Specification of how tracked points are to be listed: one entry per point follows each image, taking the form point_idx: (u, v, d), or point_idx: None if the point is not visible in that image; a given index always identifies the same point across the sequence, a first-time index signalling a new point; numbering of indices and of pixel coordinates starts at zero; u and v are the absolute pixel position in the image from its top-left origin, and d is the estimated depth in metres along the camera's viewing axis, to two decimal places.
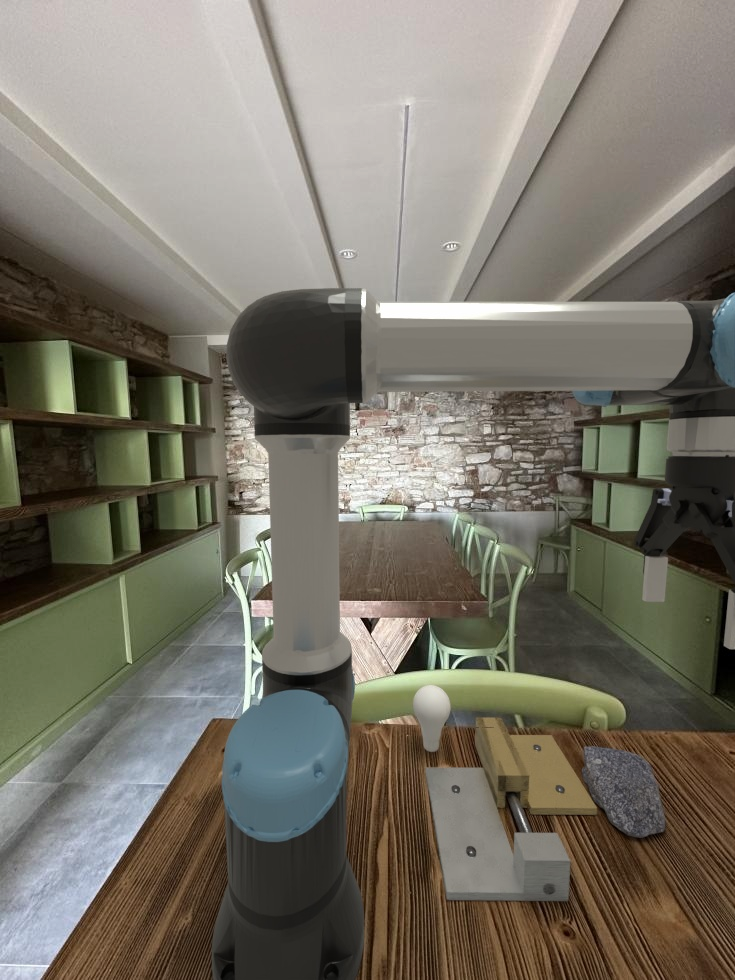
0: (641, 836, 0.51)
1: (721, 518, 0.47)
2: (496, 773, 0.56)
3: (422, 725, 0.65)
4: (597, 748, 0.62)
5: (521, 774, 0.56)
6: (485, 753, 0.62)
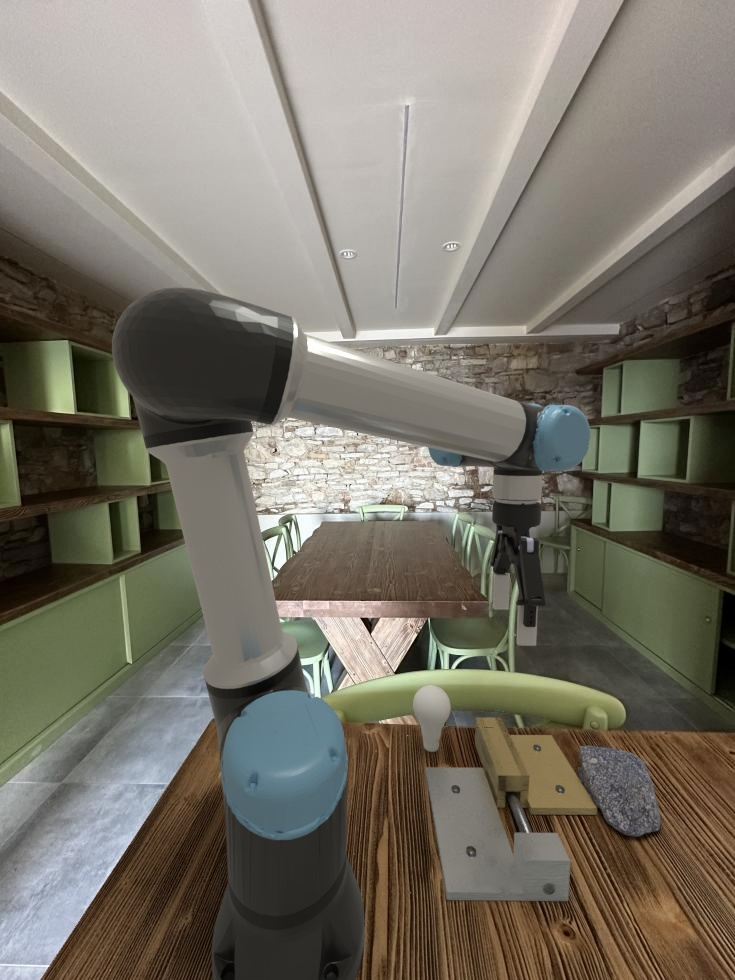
0: (637, 835, 0.51)
1: None
2: (496, 773, 0.56)
3: (422, 725, 0.65)
4: (593, 747, 0.62)
5: (521, 774, 0.56)
6: (485, 753, 0.62)
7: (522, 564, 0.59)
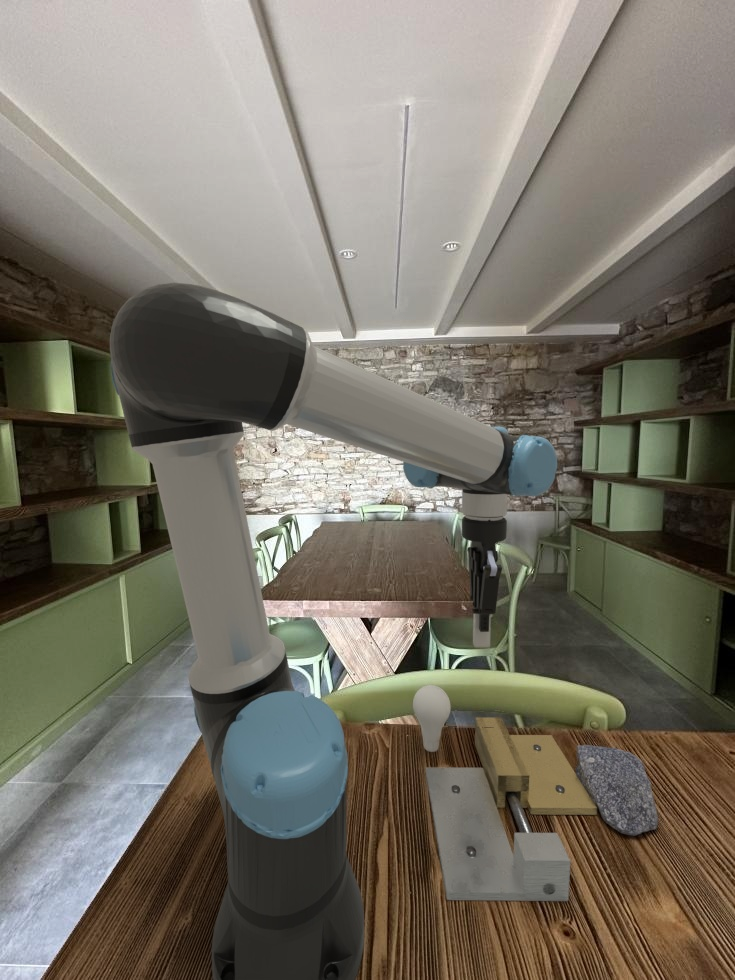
0: (634, 834, 0.51)
1: None
2: (496, 773, 0.56)
3: (422, 725, 0.65)
4: (590, 747, 0.62)
5: (521, 774, 0.56)
6: (485, 753, 0.62)
7: (483, 584, 0.67)
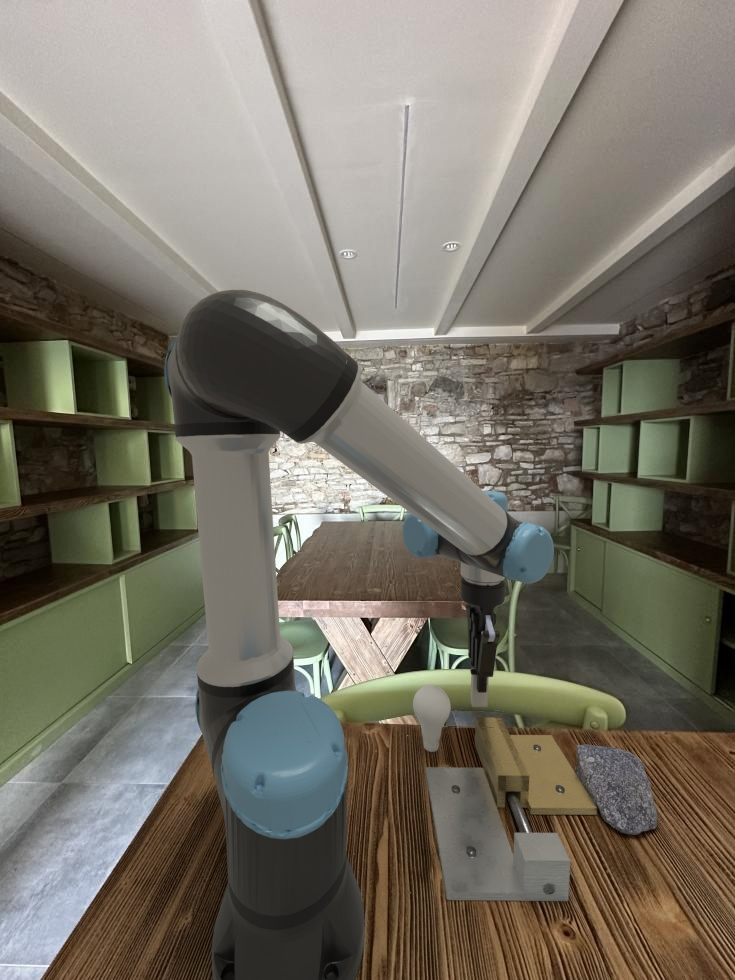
0: (634, 833, 0.52)
1: None
2: (496, 773, 0.56)
3: (422, 725, 0.65)
4: (590, 746, 0.62)
5: (521, 774, 0.56)
6: (485, 753, 0.62)
7: (481, 648, 0.67)
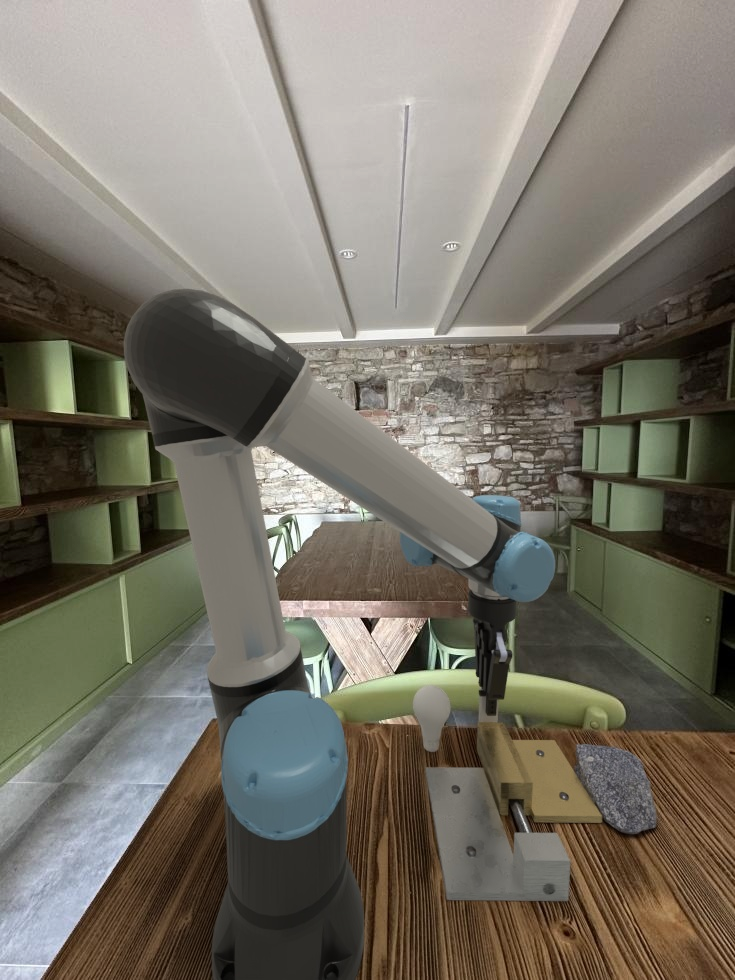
0: (634, 832, 0.52)
1: None
2: (499, 780, 0.55)
3: (422, 725, 0.65)
4: (589, 746, 0.62)
5: (524, 781, 0.55)
6: (487, 759, 0.61)
7: (491, 669, 0.61)
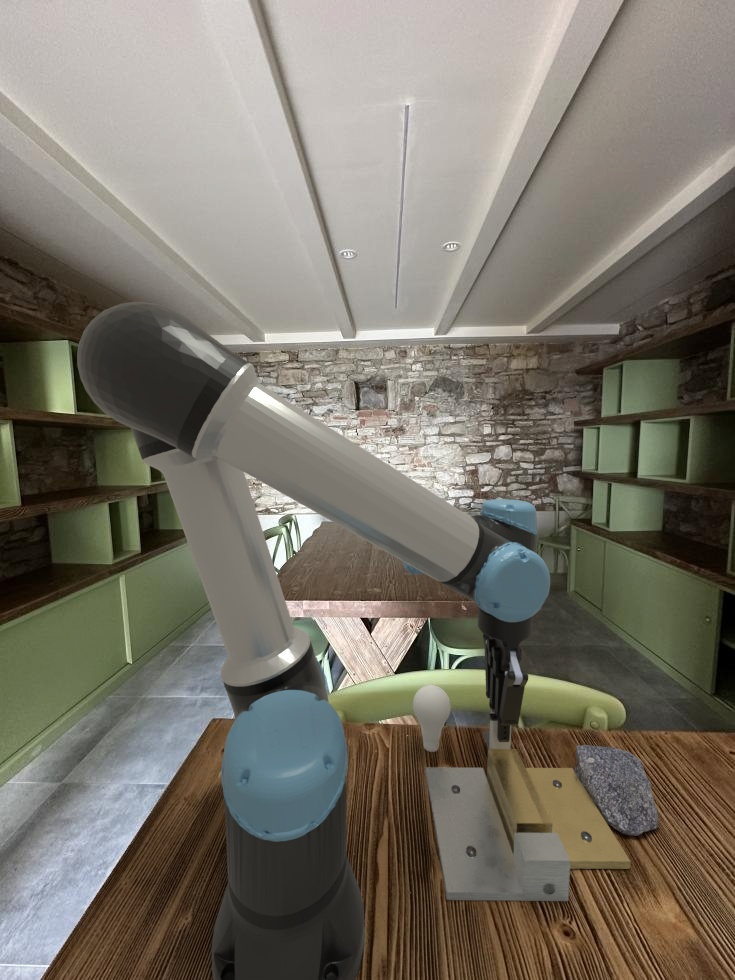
0: (636, 834, 0.51)
1: None
2: (514, 820, 0.49)
3: (422, 725, 0.65)
4: (589, 747, 0.62)
5: (543, 822, 0.49)
6: (500, 793, 0.55)
7: (504, 692, 0.55)
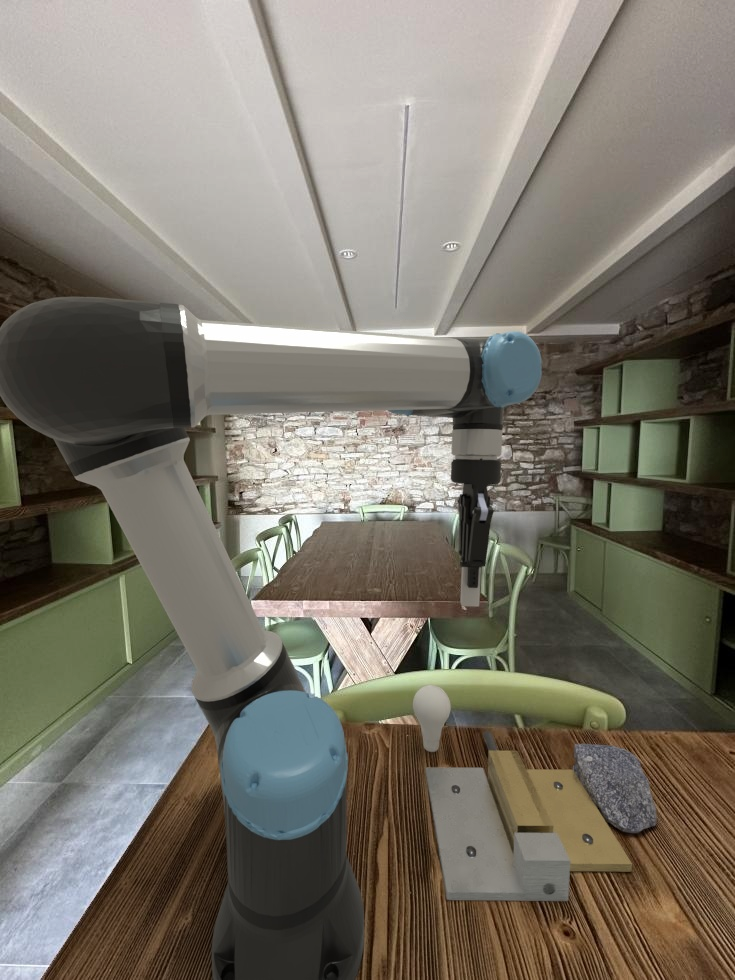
0: (636, 831, 0.52)
1: None
2: (515, 822, 0.49)
3: (422, 725, 0.65)
4: (587, 745, 0.62)
5: (544, 824, 0.48)
6: (501, 794, 0.54)
7: (472, 530, 0.59)
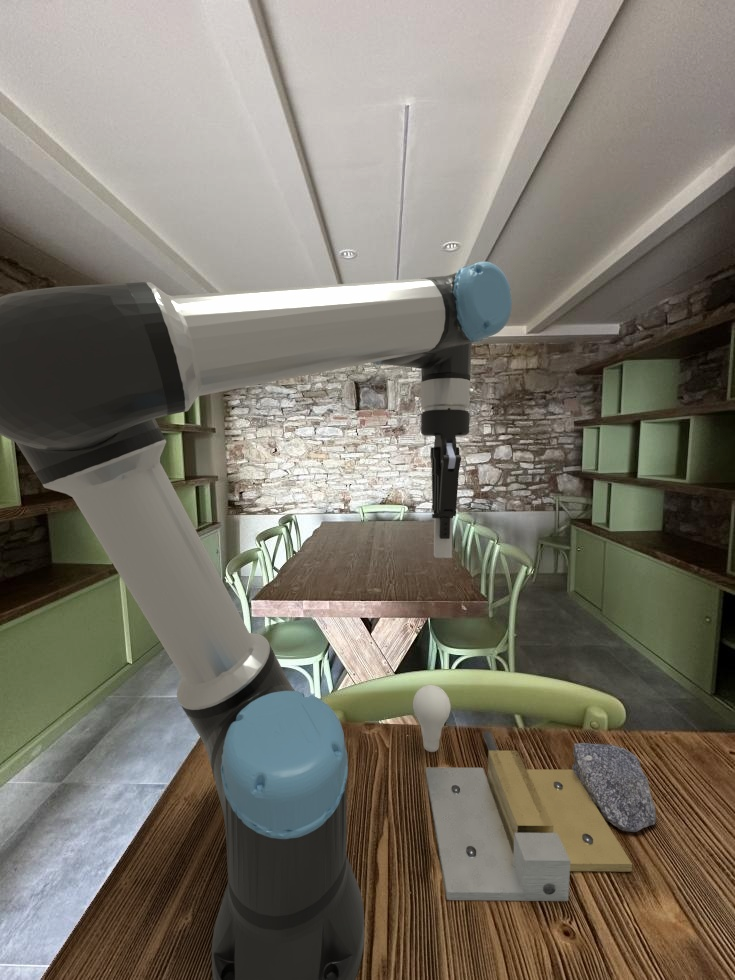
0: (635, 830, 0.52)
1: None
2: (515, 822, 0.49)
3: (422, 725, 0.65)
4: (586, 744, 0.62)
5: (544, 824, 0.48)
6: (501, 794, 0.54)
7: (441, 479, 0.60)
